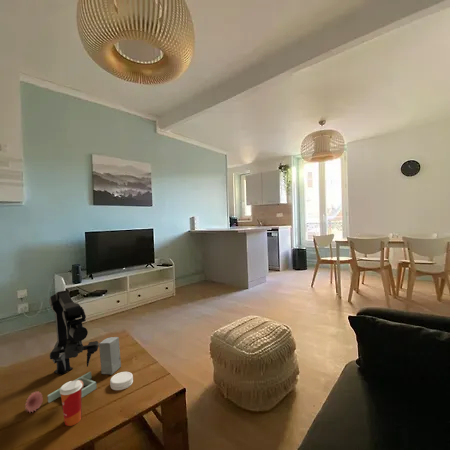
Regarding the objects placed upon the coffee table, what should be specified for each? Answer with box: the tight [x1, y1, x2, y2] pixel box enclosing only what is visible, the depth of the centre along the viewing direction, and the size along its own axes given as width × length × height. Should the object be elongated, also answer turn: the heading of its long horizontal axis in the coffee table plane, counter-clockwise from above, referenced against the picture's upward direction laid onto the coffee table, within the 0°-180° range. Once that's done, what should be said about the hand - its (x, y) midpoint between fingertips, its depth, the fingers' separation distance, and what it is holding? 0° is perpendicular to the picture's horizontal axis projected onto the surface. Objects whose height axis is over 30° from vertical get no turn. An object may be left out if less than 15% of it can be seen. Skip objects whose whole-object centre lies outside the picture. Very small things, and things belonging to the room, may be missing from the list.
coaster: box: [109, 371, 134, 391], centre depth 129 cm, size 10×10×4 cm
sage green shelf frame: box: [47, 371, 97, 403], centre depth 124 cm, size 11×20×3 cm, turn 151°
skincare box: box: [98, 336, 122, 376], centre depth 141 cm, size 8×7×16 cm
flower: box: [24, 390, 44, 414], centre depth 114 cm, size 8×8×6 cm
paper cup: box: [60, 379, 82, 427], centre depth 106 cm, size 8×8×14 cm
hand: (76, 368), depth 124 cm, fingers open, 9 cm apart
